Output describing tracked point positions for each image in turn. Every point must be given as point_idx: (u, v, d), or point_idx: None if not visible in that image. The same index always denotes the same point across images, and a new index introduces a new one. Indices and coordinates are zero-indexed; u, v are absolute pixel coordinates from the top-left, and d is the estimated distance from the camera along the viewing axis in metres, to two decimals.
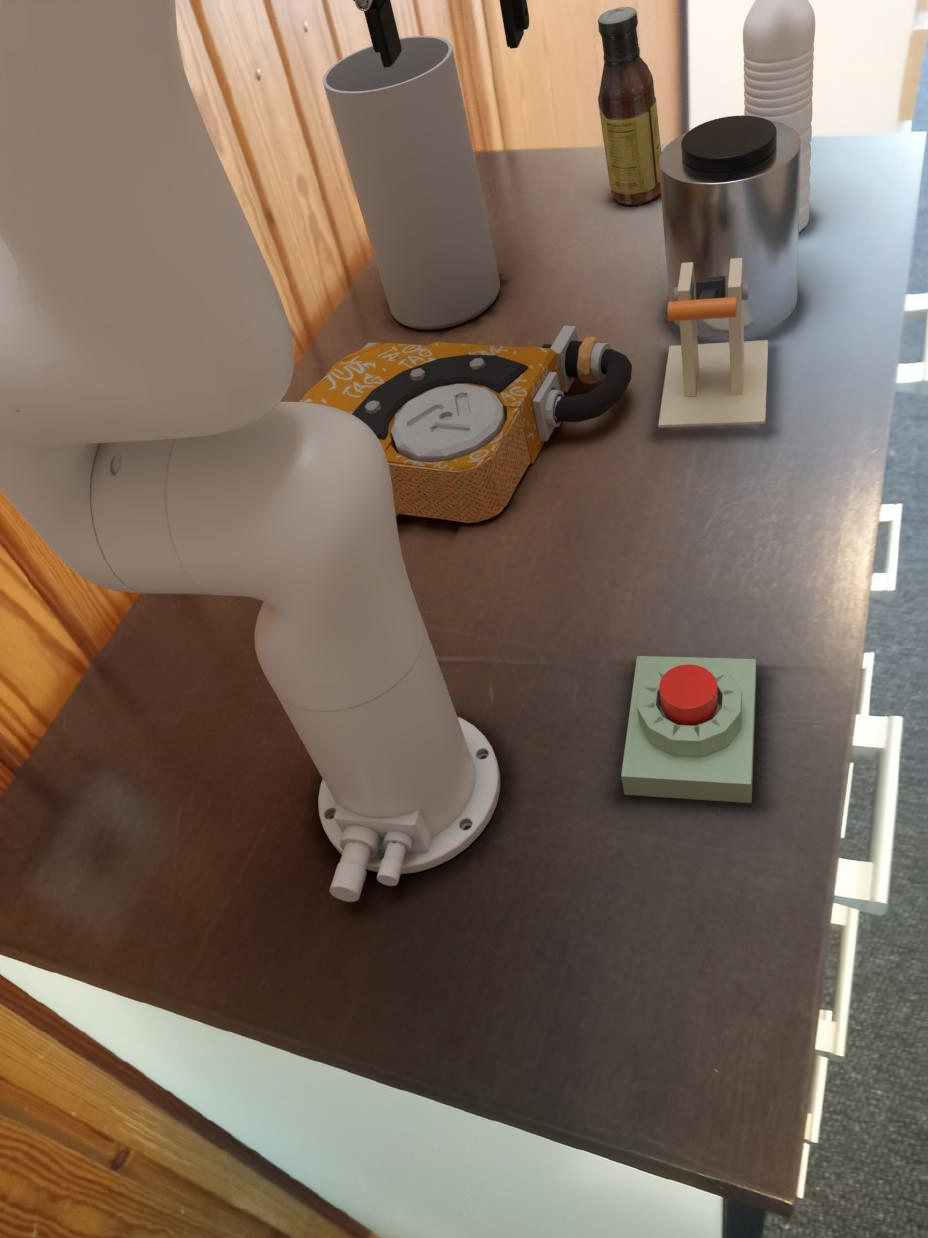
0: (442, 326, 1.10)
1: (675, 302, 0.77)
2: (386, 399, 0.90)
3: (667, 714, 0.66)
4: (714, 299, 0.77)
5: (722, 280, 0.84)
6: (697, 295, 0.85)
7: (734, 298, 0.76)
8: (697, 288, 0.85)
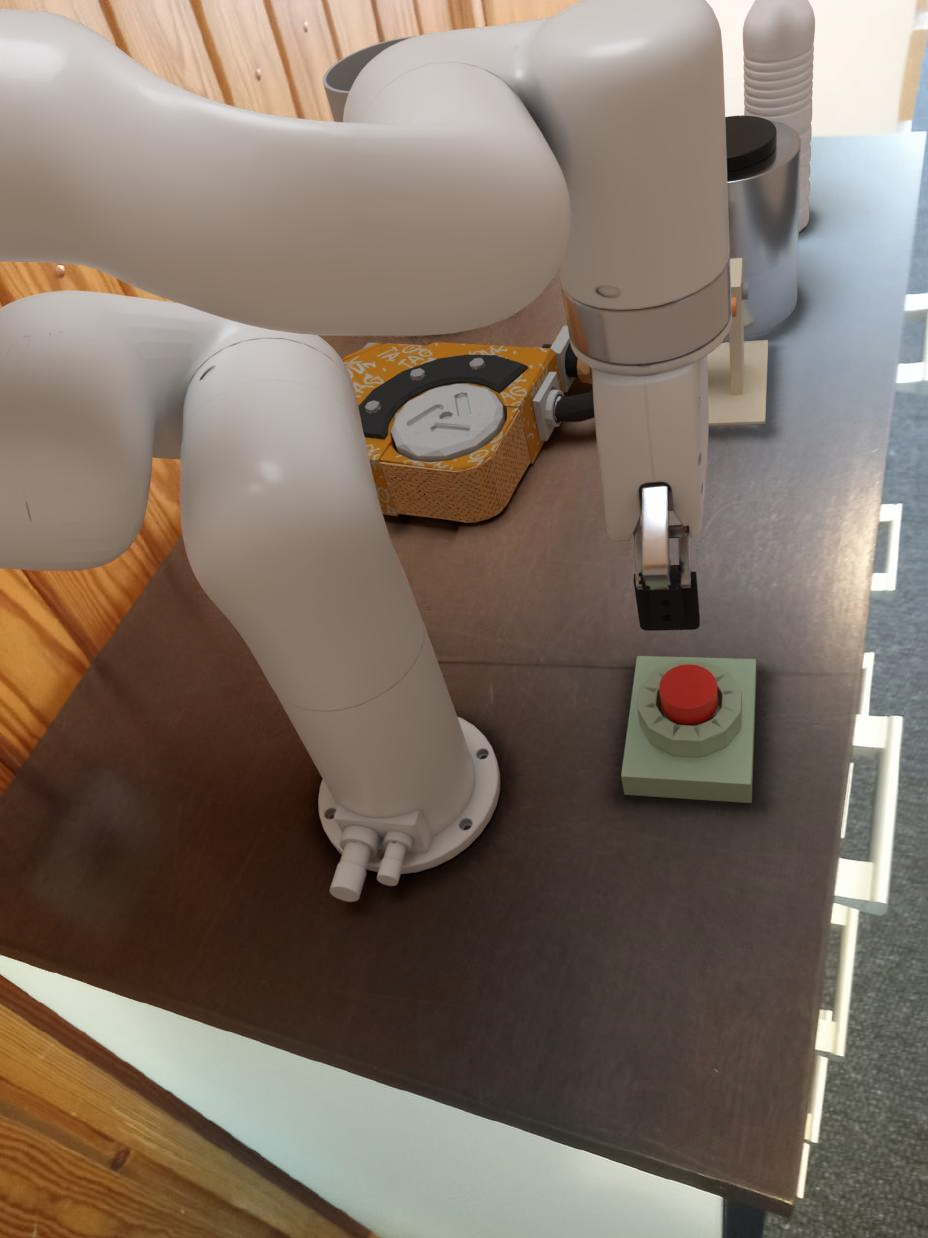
0: None
1: None
2: (386, 399, 0.90)
3: (667, 714, 0.66)
4: None
5: None
6: None
7: (734, 298, 0.76)
8: None
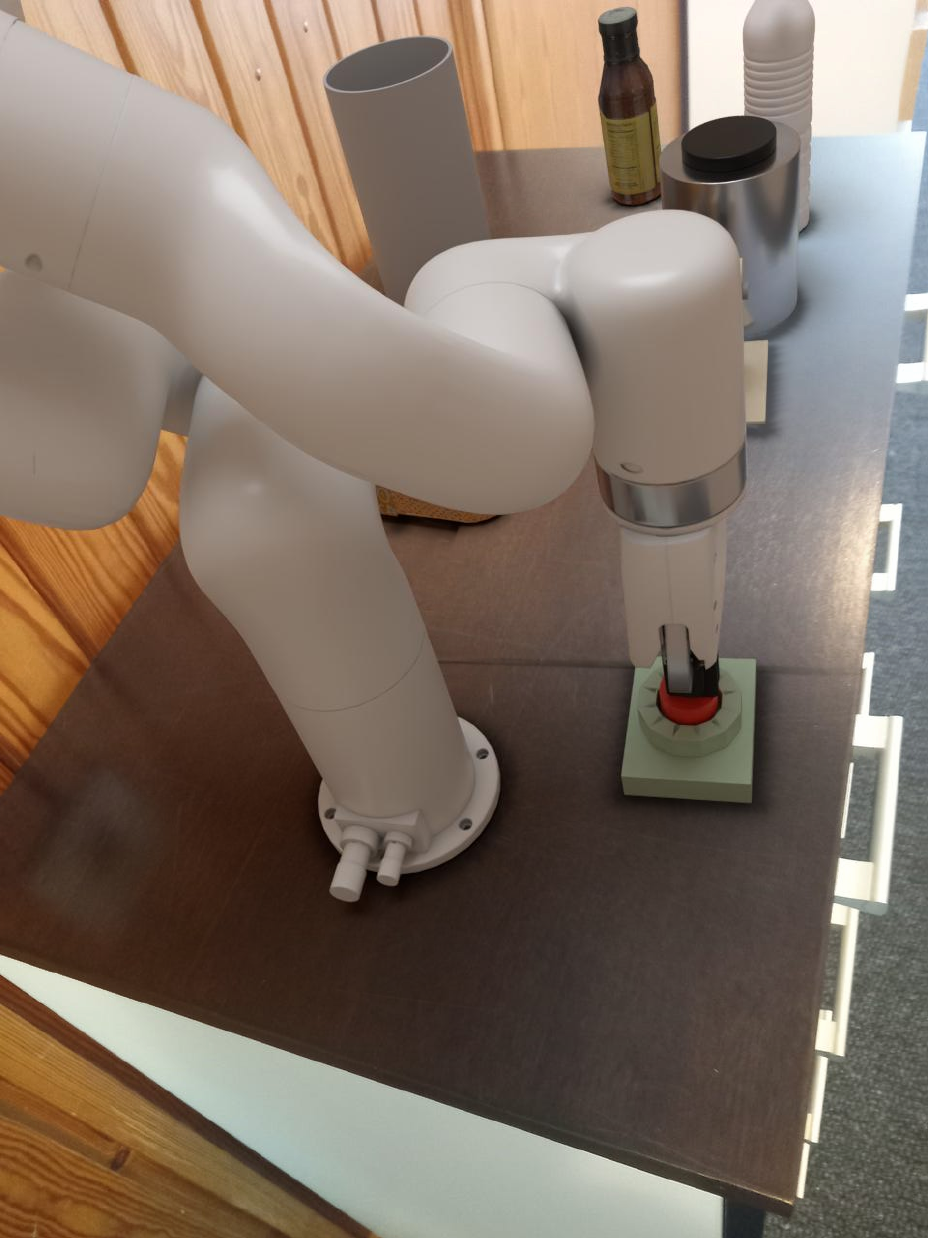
0: None
1: None
2: None
3: (667, 716, 0.66)
4: None
5: None
6: None
7: None
8: None
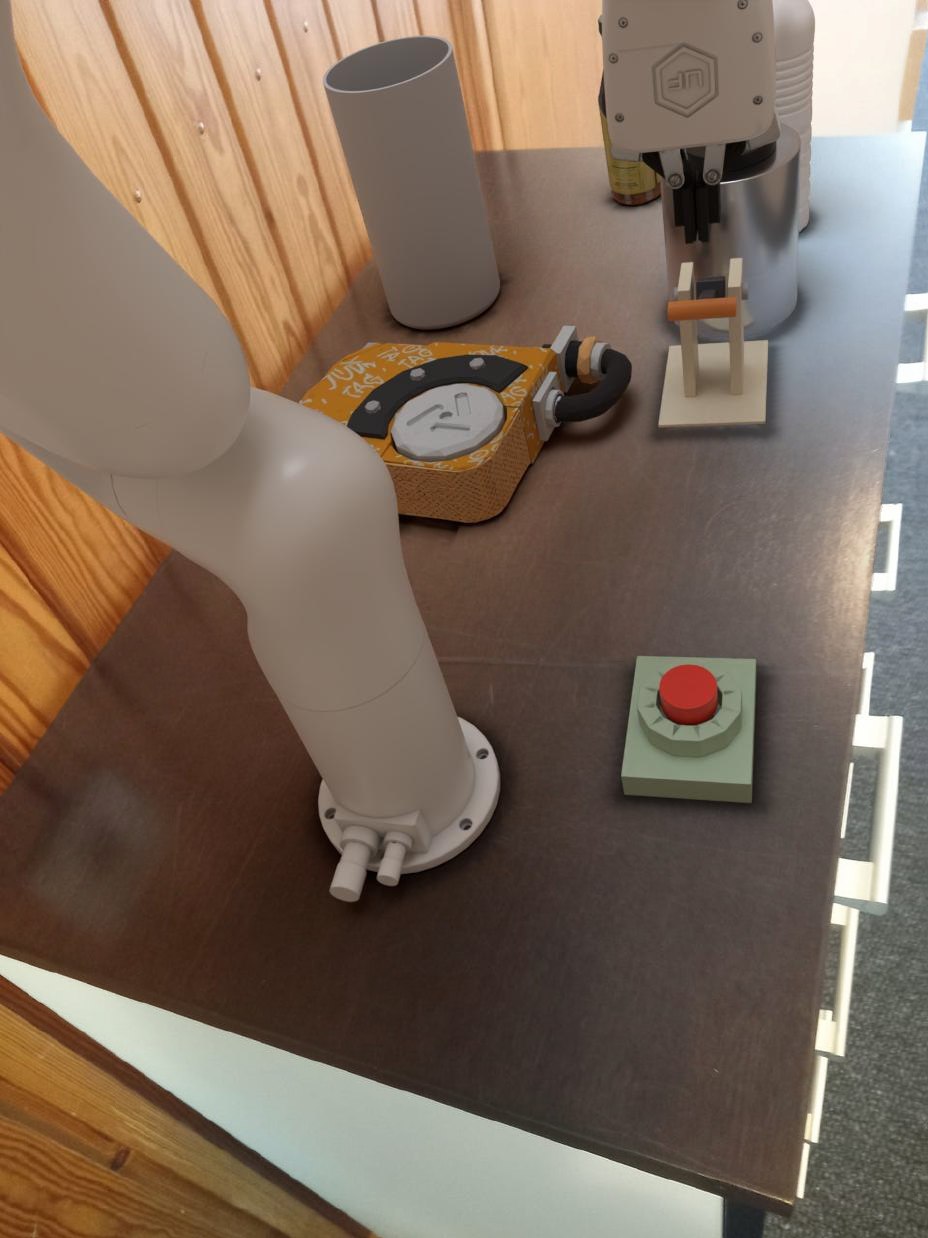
0: (442, 326, 1.10)
1: (675, 302, 0.77)
2: (386, 399, 0.90)
3: (667, 714, 0.66)
4: (714, 299, 0.77)
5: (722, 280, 0.84)
6: (697, 295, 0.85)
7: (734, 298, 0.76)
8: (697, 288, 0.85)
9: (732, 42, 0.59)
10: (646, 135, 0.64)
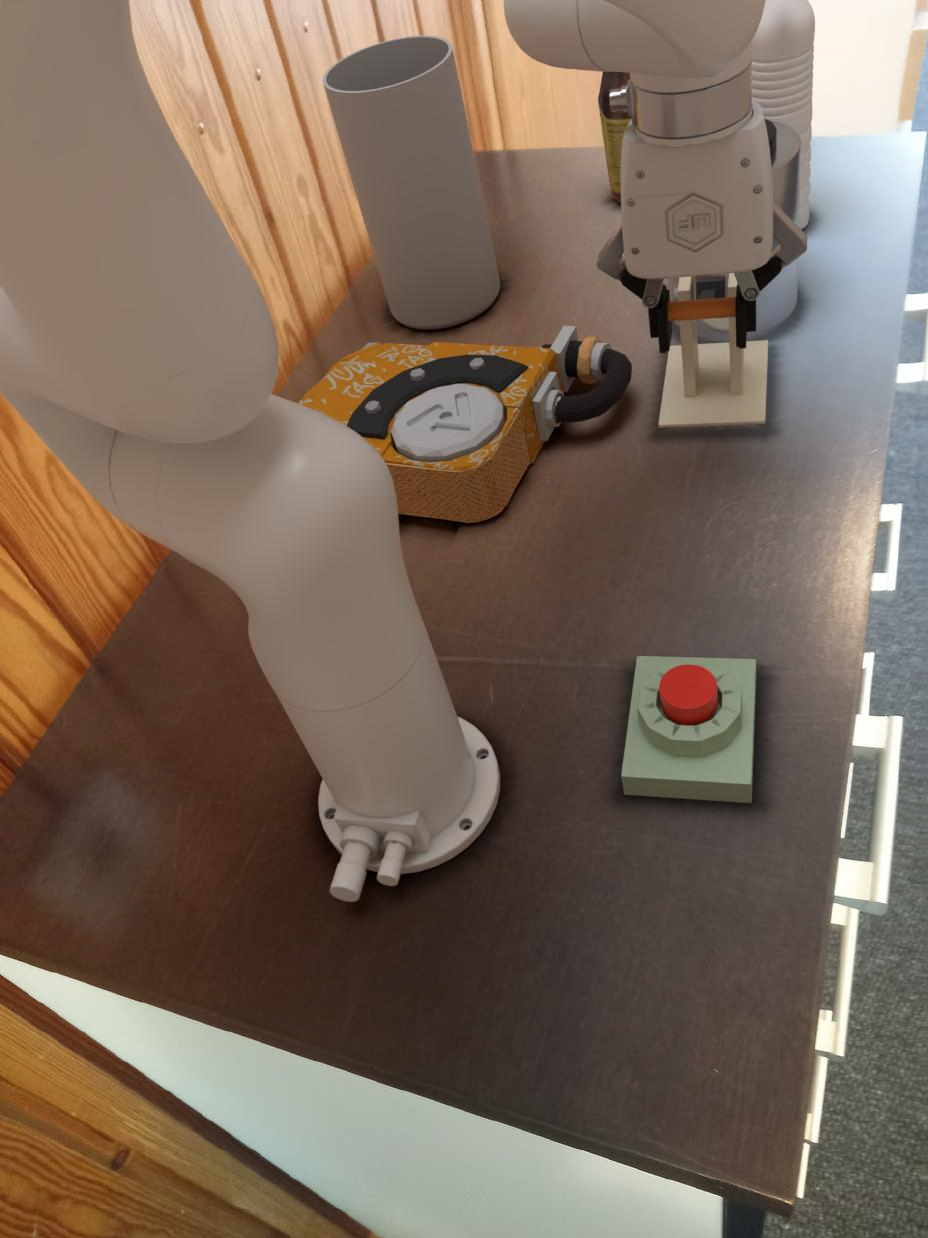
0: (442, 326, 1.10)
1: (675, 302, 0.77)
2: (386, 399, 0.90)
3: (667, 714, 0.66)
4: (714, 299, 0.77)
5: (722, 280, 0.84)
6: (697, 295, 0.85)
7: (734, 298, 0.76)
8: (697, 288, 0.85)
9: (736, 193, 0.68)
10: (659, 265, 0.72)
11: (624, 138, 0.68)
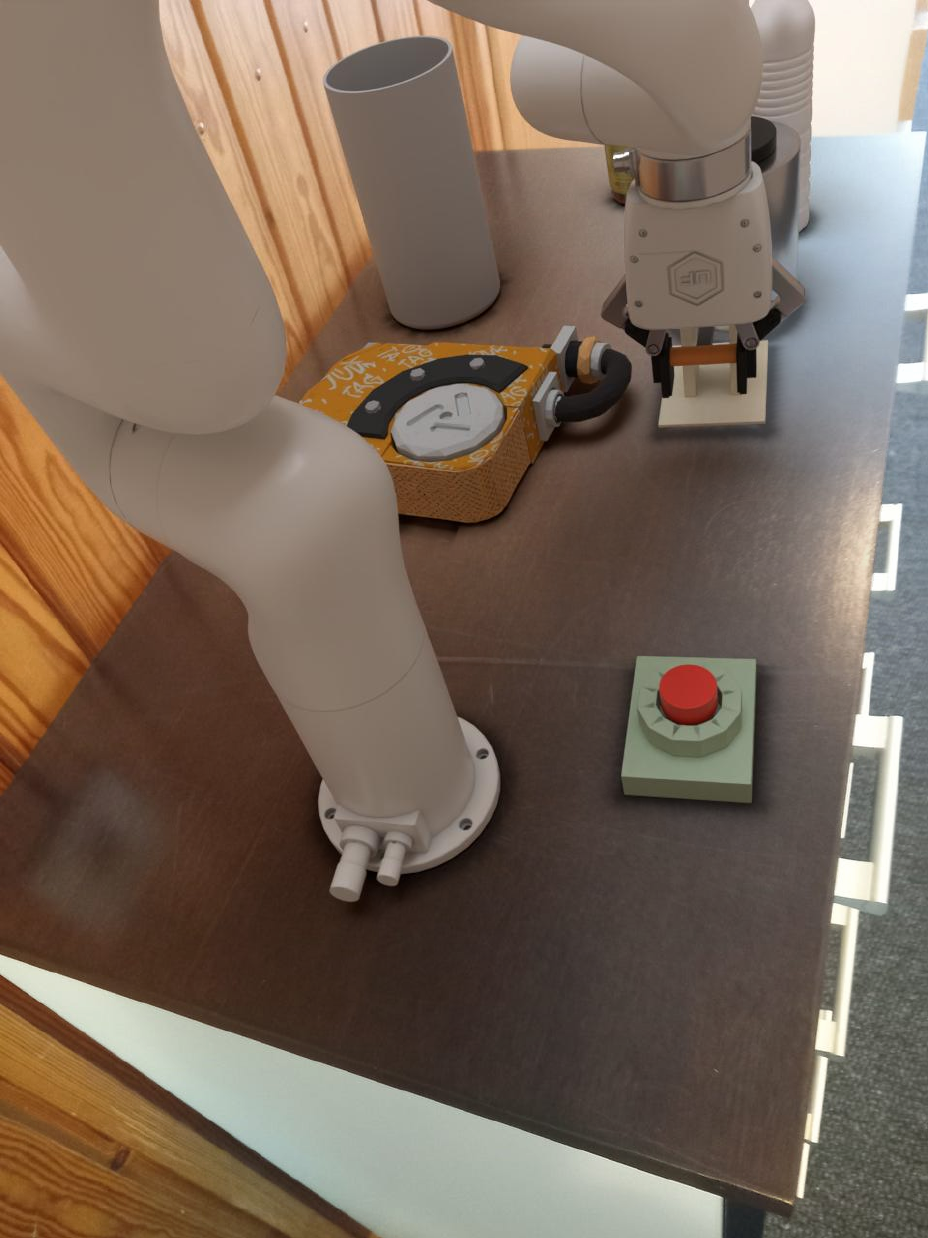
0: (442, 326, 1.10)
1: (676, 350, 0.79)
2: (386, 399, 0.90)
3: (667, 714, 0.66)
4: (715, 347, 0.78)
5: None
6: None
7: (734, 347, 0.78)
8: None
9: (736, 251, 0.70)
10: (661, 318, 0.75)
11: (627, 199, 0.70)
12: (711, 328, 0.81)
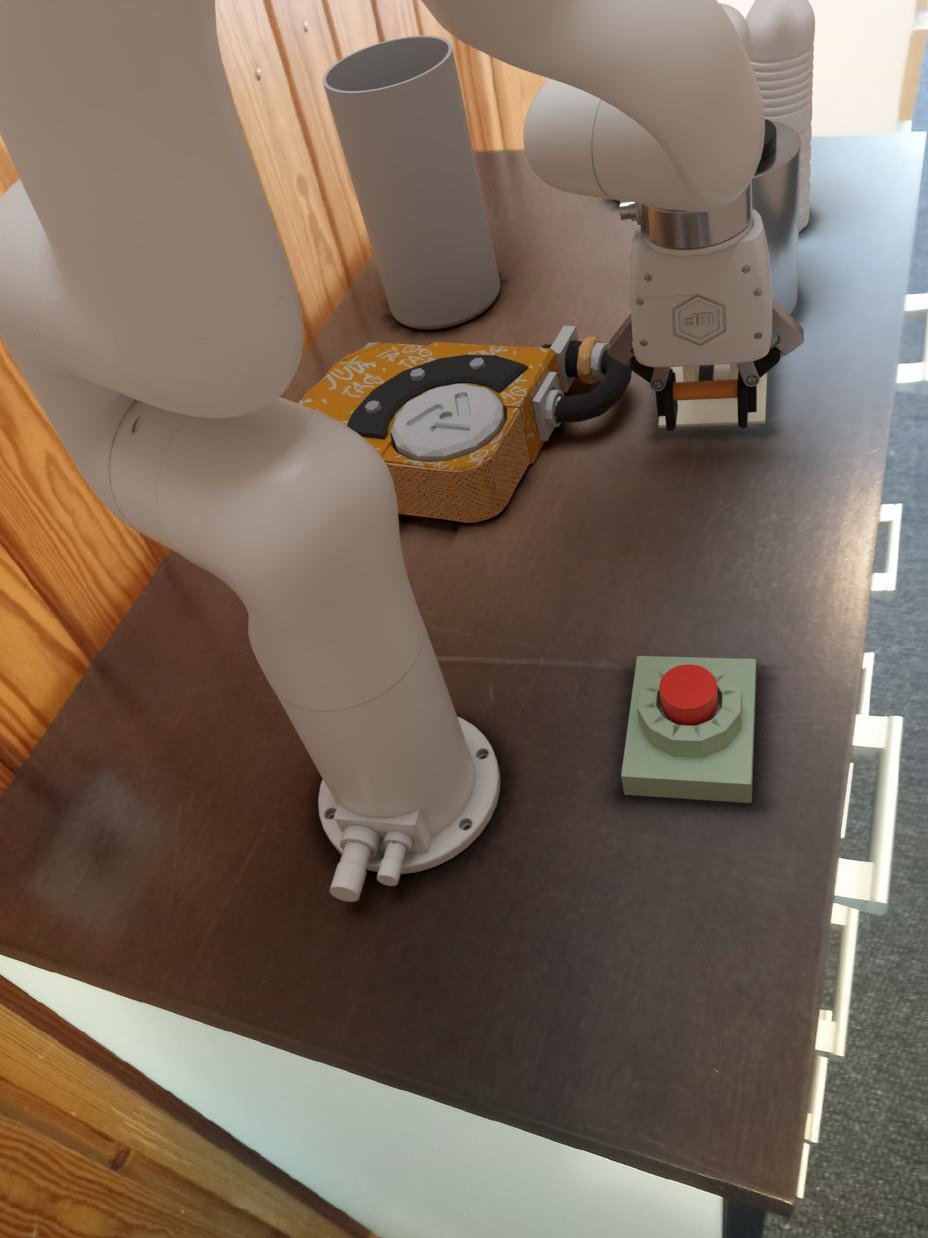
0: (442, 326, 1.10)
1: (679, 389, 0.82)
2: (386, 399, 0.90)
3: (667, 714, 0.66)
4: (716, 386, 0.81)
5: None
6: None
7: (735, 386, 0.81)
8: None
9: (737, 295, 0.73)
10: (665, 356, 0.78)
11: (633, 244, 0.73)
12: None
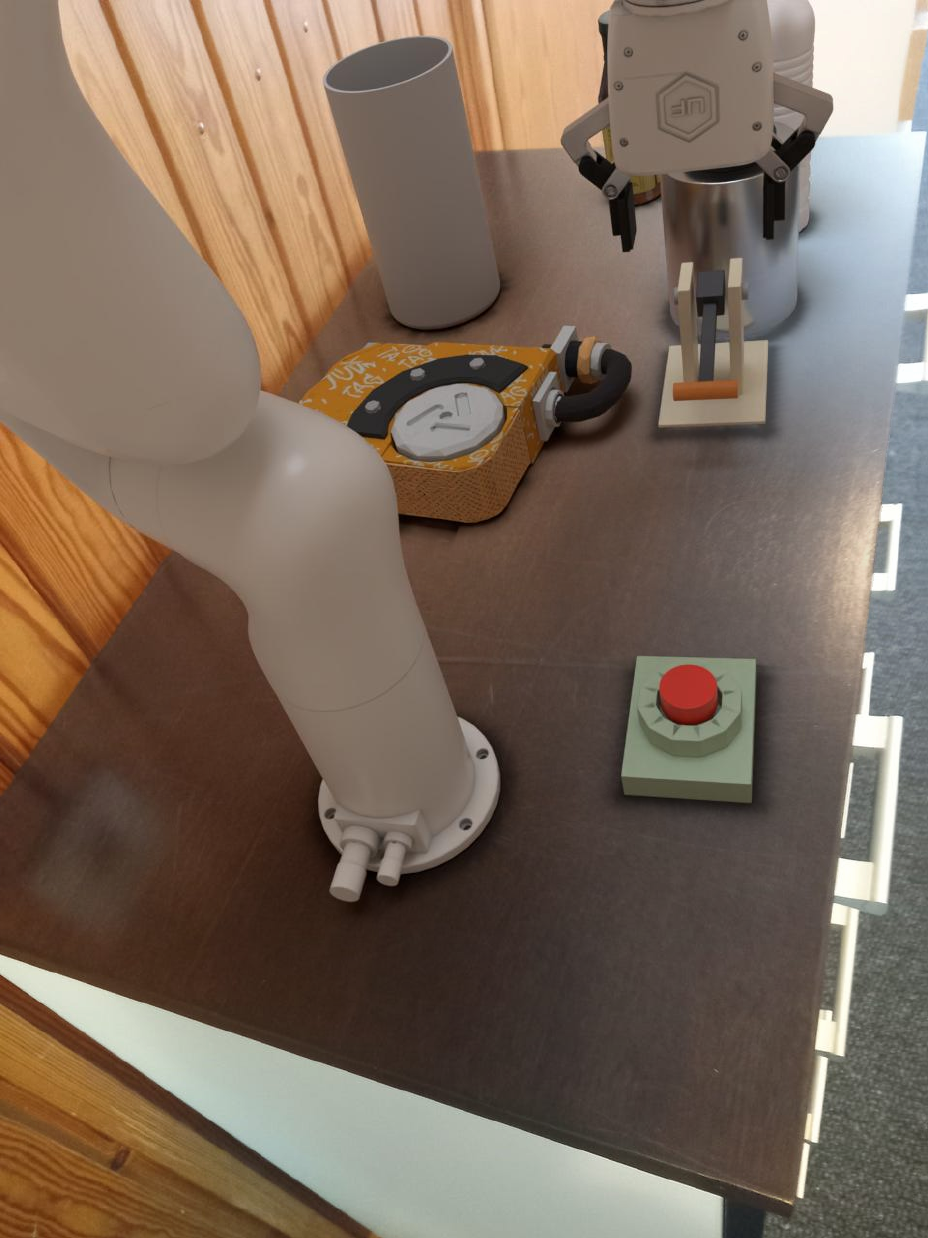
0: (442, 326, 1.10)
1: (679, 389, 0.82)
2: (386, 399, 0.90)
3: (667, 714, 0.66)
4: (716, 386, 0.81)
5: (722, 295, 0.84)
6: (697, 306, 0.86)
7: (735, 387, 0.81)
8: (697, 302, 0.85)
9: (733, 71, 0.62)
10: (649, 159, 0.67)
11: (611, 12, 0.62)
12: (712, 354, 0.83)
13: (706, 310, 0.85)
